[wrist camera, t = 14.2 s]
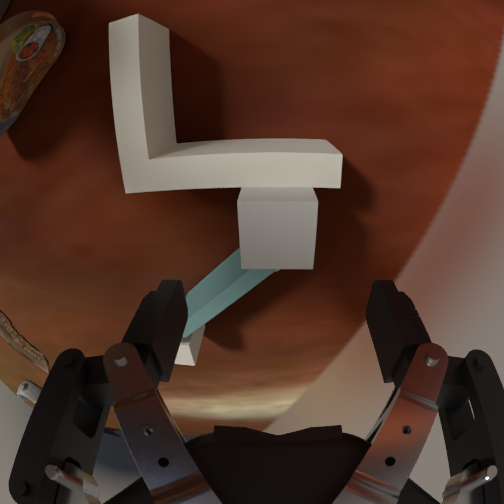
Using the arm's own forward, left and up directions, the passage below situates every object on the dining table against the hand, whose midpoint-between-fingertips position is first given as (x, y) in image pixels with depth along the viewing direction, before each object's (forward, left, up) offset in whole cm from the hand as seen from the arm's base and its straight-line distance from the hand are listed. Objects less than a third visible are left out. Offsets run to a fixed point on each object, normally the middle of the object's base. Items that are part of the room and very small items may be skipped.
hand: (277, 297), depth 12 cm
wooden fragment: (+22, -50, -12) cm, 56 cm away
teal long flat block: (+6, -4, -11) cm, 14 cm away
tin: (-14, -22, -12) cm, 29 cm away
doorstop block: (-1, 0, -11) cm, 11 cm away
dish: (+49, -58, -12) cm, 77 cm away
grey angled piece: (0, -3, -12) cm, 12 cm away
